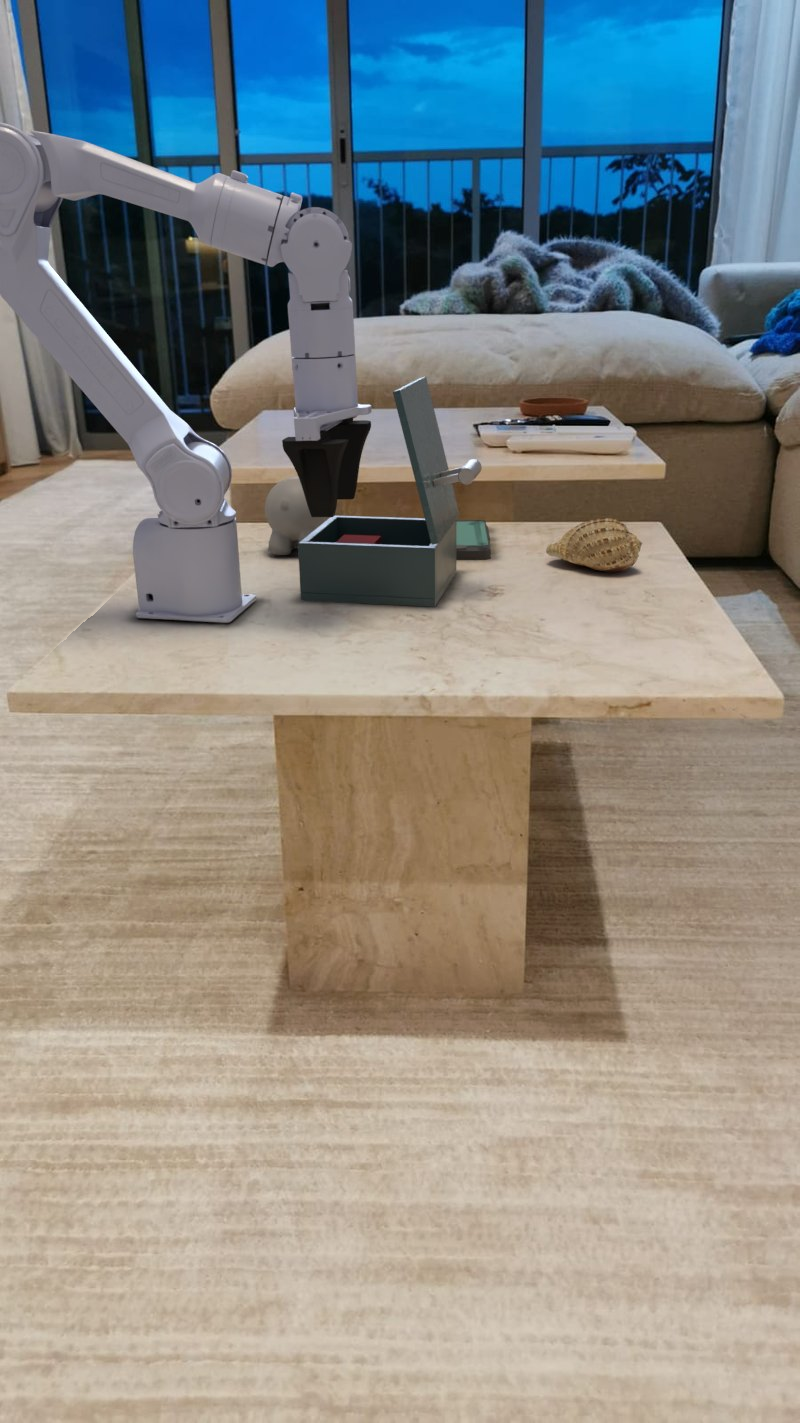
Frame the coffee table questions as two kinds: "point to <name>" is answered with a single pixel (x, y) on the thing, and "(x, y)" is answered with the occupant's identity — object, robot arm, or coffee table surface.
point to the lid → (430, 458)
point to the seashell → (598, 545)
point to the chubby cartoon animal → (289, 516)
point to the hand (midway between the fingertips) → (333, 507)
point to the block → (360, 539)
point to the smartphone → (472, 540)
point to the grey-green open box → (376, 562)
